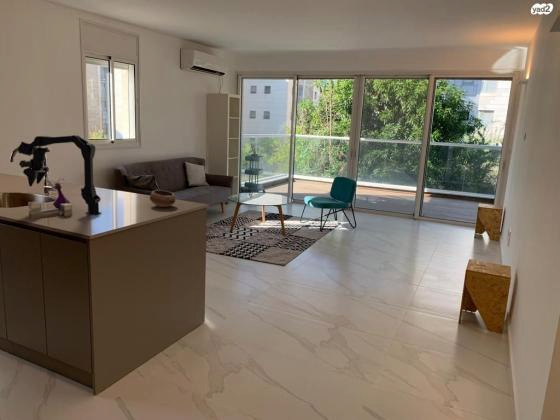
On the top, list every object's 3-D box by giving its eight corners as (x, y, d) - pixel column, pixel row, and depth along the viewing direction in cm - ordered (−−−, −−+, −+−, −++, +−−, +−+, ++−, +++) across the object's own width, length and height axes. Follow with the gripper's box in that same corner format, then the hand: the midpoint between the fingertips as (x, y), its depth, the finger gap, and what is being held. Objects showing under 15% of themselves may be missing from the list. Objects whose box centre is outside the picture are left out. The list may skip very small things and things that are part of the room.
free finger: (72, 215, 245) (71, 204, 244) (64, 216, 242) (63, 205, 241) (68, 213, 248) (67, 203, 247) (60, 214, 245) (59, 204, 244)
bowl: (168, 210, 272) (168, 194, 270) (145, 207, 275) (145, 192, 273) (179, 205, 287) (179, 190, 285) (157, 203, 290) (157, 188, 288)
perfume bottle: (53, 209, 255) (51, 179, 252) (56, 207, 262) (55, 177, 259) (66, 210, 257) (65, 179, 253) (70, 207, 264) (69, 177, 260)
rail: (60, 215, 244) (59, 201, 242) (33, 218, 233) (32, 203, 231) (55, 213, 247) (54, 199, 246) (28, 216, 237) (28, 202, 235)
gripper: (31, 152, 252) (26, 178, 255) (15, 156, 234) (10, 184, 237) (51, 157, 254) (46, 183, 256) (37, 161, 235) (32, 189, 238)
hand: (34, 184), depth 247 cm, fingers open, 9 cm apart
